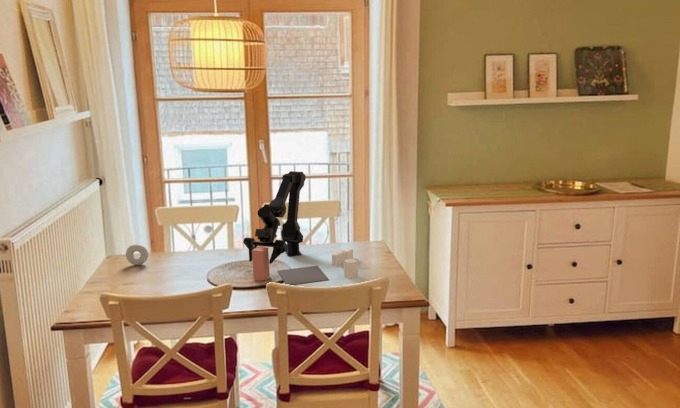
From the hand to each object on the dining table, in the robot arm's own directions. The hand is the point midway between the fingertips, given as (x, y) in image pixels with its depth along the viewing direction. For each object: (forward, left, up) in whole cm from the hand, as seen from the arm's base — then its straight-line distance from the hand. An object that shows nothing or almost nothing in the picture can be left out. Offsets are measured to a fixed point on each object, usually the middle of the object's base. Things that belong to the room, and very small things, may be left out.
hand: (259, 262), depth 244 cm
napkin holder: (-8, +39, -8) cm, 41 cm away
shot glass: (+10, +36, -8) cm, 39 cm away
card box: (-1, 0, -7) cm, 7 cm away
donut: (-38, -50, -8) cm, 63 cm away
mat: (+2, +17, -7) cm, 19 cm away
